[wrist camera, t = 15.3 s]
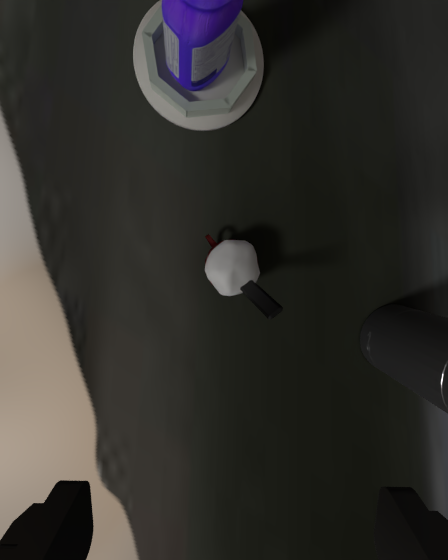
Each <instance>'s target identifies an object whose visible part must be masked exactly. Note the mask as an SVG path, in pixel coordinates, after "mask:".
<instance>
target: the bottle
mask: <svg viewBox="0 0 448 560" xmlns="http://www.w3.org/2000/svg"><path fill="white" fill-rule="evenodd" d="M242 4H243V0H162V18H163V29H164V43H165V53H166V64H167V67H168V69H169V71H170V73H171V75H172V76H173V77H174V78H175V79H176V81H177V82H178V83H180V85H181V86H182V87H184V88H185V89H187V90H189V91H198V90H201V89H203V88H205V87H206V86H208V85H209V84H211V83H212V82H213V81H214V80H215V79H216V78H217V77H218V76H219V75H220V73H221V72H222V71H223V69H224V68H225V66H226V64H227V62H228V59H229V56H230V51H231V47H232V43H233V39H234V34H235V30H236V27H237V23H238V19H239V15H240V11H241V8H242Z"/></svg>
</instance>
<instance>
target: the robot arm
mask: <svg viewBox="0 0 448 560" xmlns="http://www.w3.org/2000/svg"><path fill="white" fill-rule="evenodd" d="M360 346H361V350H362V352H363V355H364V356H365V358H366V359H367V361H368V362H370V363H371V364H372V365H373V366H375V367H377V368H378V369H380V370H381V371H383V372H384V373H386V374H387V375H389V376H390V377H392V378H393V379H395V380H397V381H398V382H400V383H401V384H403V385H404V386H406V387H407V388H409V389H411V390H412V391H414V392H415V393H417V394H418V395H420V396H421V397H423V398H425V399H426V400H428V401H429V402H431V403H432V404H434V405H436V406H437V407H439V408H440V409H442V410H443V411H445V412H446V413H448V318H445V317H441V316H438V315H434V314H431V313H427V312H424V311H420V310H416V309H412V308H409V307H405V306H402V305H394V304H392V305H386V306H383V307H381V308H379V309H377V310H376V311H374V312H373V313H372V314H371V315H370V316H369V317H368V318H367V320H366V321H365V323H364V325H363V327H362V330H361V334H360ZM92 536H93V515H92V504H91V492H90V484H89V482H88V481H59V482H57V483H56V485H55V486H54V488H53V489H52V491H51V492H50V494H49V496H48V497H47V499H46V500H45V502H44V503H33V504H32V505H31V506H30V507H29V508H28V509H27V510H26V511H25V512H23V513H22V514H21V515H20V516H19V517H18V518H17V519H16V520H14V521H13V523H12V524H11V525H10V527H9V529H8V530H7V531H6V533H5V534H4V536H3V537H2V539H1V540H0V560H86V558H87V555H88V553H89V550H90V546H91V542H92ZM374 541H375V547H376V551H377V555H378V558H379V560H448V520H447V519H446V518H445V517H444V516H443V515H441V514H440V513H439V512H438V511H429V510H428V509H427V507H426V506H425V504H424V503H423V501H422V500H421V498H420V497H419V496H418V494H417V493H416V491H415V490H414V489H412V488H410V487H381V489H380V491H379V497H378V504H377V512H376V519H375V526H374Z"/></svg>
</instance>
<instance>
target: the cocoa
mask: <svg viewBox="0 0 448 560" xmlns="http://www.w3.org/2000/svg"><path fill="white" fill-rule="evenodd" d="M206 239H207V240H208V242H209V243H210V245H211V246H212V248H211V249H210V251H209V253H208V255H207V257H206V260H205V272H206V275H207V277H208V279H209V281H210V283H211V284H212V285H214V287H215V288H216V289H217V291H218V292H219V293H220V294H221V295H226V296H233V295H237V294H241V293H244V294H245V295H246V296H247V297H248V298H249V299H250V300H251V301H252V302H253V303H254V304H255V306H256V307H257V308H258V309H259V310H260V311H261V312H262V313H263V314H264V315H265V316H266V317H267V318H268V319H272V318H274V317H275V316H276V315H277V314H279V313H280V312H281V311H282V309H283V307H282V306H281V305H279V304H278V303H277V302H276V301H275V300H274V299H273V298H272V297H271V296H269V295H268V294H267V293H266V292H265V291H264V290H263V289H262V288H261V287H259V286H258V285H257V284H256V283H255V282H256V281H257V279H258V277H259V274H260V271H259V267H258V259H257V255H256V252H255V250H254V247H253V245H252V244H250V243H248V242H247V241H245V240H235V239H229V240H224V241H221V242H219V243H218V244H217V243H216V242H215V241H214V240H213V239H212V237H211V236H210V235H209V234H208V235H206Z"/></svg>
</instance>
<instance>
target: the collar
mask: <svg viewBox="0 0 448 560" xmlns="http://www.w3.org/2000/svg"><path fill="white" fill-rule="evenodd" d="M133 60H134V68H135V73H136V77H137V80H138V83H139V86H140V88H141V90H142V92H143V94H144V96H145V97H146V99H147V100H148V102H149V103H150V105H151V106H152V107H153V108H154V109H155V110H156V111H157V112H158V113H159V114H160V115H161V116H162V117H164V118H165V119H166V120H168V121H169V122H171V123H173V124H175V125H177V126H180V127H182V128H185V129H189V130H194V131H211V130H217V129H220V128H223V127H226V126H228V125H230V124H232V123H233V122H235V121H236V120H238V119H239V118H240V117H241V116H242V115H244V114H245V112H246V111H247V110H248V109H249V108H250V106H251V105H252V103H253V102H254V100H255V98H256V96H257V94H258V91H259V89H260V86H261V83H262V78H263V69H264V60H263V51H262V46H261V43H260V40H259V37H258V35H257V32H256V30H255V28H254V27H253V25H252V23H251V22H250V20H249V19H248V18H247V16H246V15H245V14H244V13H243V12H242V11H240V15H239V19H238V23H237V27H236V30H235V34H234V39H233V43H232V47H231V51H230V56H229V59H228V62H227V64H226V66H225V68H224V69H223V71H222V72H221V73H220V75H219V76H218V77H217V78H216V79H215V80H214V81H213V82H212V83H211V84H209V85H208V86H206V87H205V88H203V89H201V90H198V91H189V90H187V89H185V88H184V87H182V86H181V85H180V83H178V82H177V81H176V79H175V78H174V77H173V76H172V75H171V73H170V71H169V69H168V67H167V64H166V53H165V43H164V29H163V18H162V0H160V1H158V2H157V3H156V4H155V5H154V6H153V7H152V8H151V9H150V10H149V11H148V12H147V13H146V15H145V16H144V18H143V20H142V21H141V23H140V25H139V28H138V30H137V33H136V37H135V41H134V48H133Z"/></svg>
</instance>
